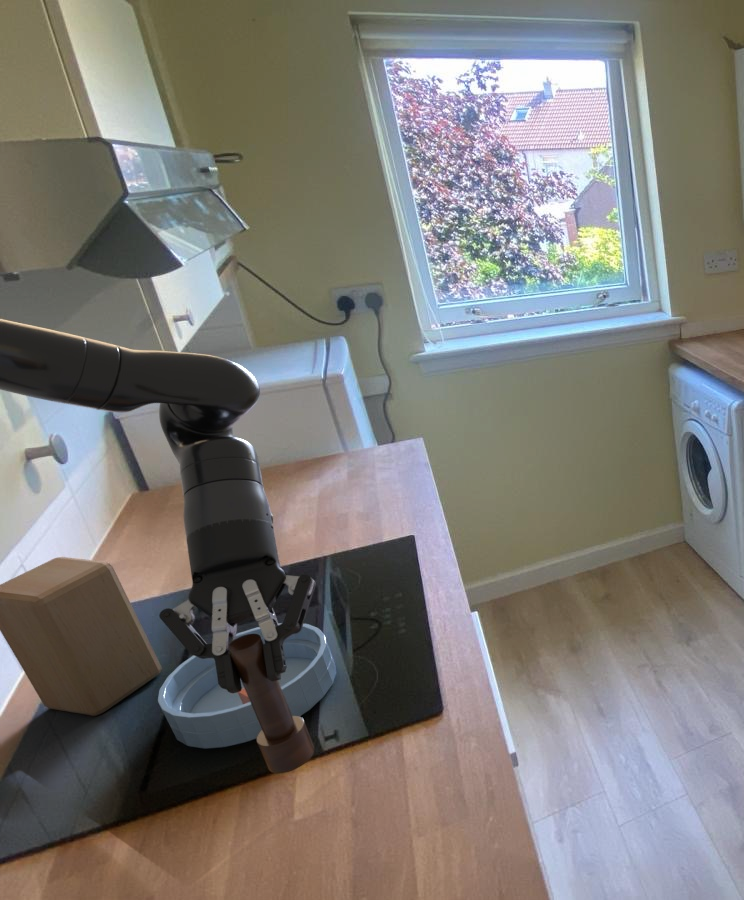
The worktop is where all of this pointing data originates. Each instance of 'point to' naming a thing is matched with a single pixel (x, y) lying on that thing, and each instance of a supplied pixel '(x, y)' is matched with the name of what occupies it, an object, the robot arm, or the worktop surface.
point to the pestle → (270, 709)
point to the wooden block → (76, 635)
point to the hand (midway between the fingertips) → (255, 684)
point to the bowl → (222, 713)
